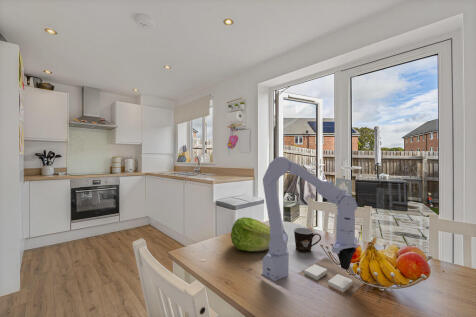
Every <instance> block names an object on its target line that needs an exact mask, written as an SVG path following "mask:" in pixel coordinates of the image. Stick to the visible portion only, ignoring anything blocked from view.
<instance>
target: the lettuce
mask: <svg viewBox="0 0 476 317" xmlns="http://www.w3.org/2000/svg"><path fill="white" fill-rule="evenodd" d="M230 238H231V242H232V244H233V245H234V247H235V248H236V249H238V250H240V251H241V250H242V251H247V252H250V253H251V252H253V253H254V252H262V251H266V250H269V242H270V225H268V224H266V223H264V222H262V221H260V220H258V219H254V218H253V217H247V216H244V217H243V216H242V217H239V218H237V219H236V220H235V221H234V223H233V225H232V228H231V232H230Z"/></svg>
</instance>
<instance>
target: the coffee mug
mask: <svg viewBox="0 0 476 317" xmlns="http://www.w3.org/2000/svg"><path fill="white" fill-rule="evenodd" d="M293 232H294V242H295V249H296V251H297V252H298V253H303V254H307V253H311V252H312V247H313V246H315V245H317V244H318V243H319V242H320V241H321V239H322V236H321V234H319V233H316V232H315V233H314V230H312V229H311V228H307V227H296V228H294V229H293ZM315 236H318V237H319V239H318V240H317V241H315V242H314V243H313V240H314V237H315Z"/></svg>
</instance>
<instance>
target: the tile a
mask: <svg viewBox="0 0 476 317" xmlns="http://www.w3.org/2000/svg"><path fill="white" fill-rule="evenodd" d="M313 264H314V265H313ZM313 264H312V266H311V265H310V266H311V267H310V266H308V267H309V268H308V267H307V269H306V268H305V270H304V269H303V270H304V274H305V275H307V276H309V277H311V278H313V279H315V280H318V279H320V278H321V277H323V276H324V275H326V274H327V269H325V268H323V267H320V266H318V265H316V264H315V263H313Z"/></svg>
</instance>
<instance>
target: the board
mask: <svg viewBox="0 0 476 317" xmlns="http://www.w3.org/2000/svg"><path fill="white" fill-rule="evenodd" d="M331 260H332V259H331V258H328V257H324V258H322V259H321V260H318V261H317V262H315V263H313V264H312V265H314V264H316V265H318V266H320V267H323V268H325V269H327V274H326V275H324V276H323V277H321V278H320V279H318V280H315V279H313V278H311V277H309V276H307V275H305V274H304V270H305V269H307V268H309V267H311V266H312V265H310V266H308V267H307V268H305V269H303V270H301V271H299V272H297V274H299V275H301V276H303V277H305V278H307V279H309V280H311V281H313V282H315V283H317V284H319V285H321V286H323V287H324V288H327V289H329V290H331V291H332V292H335V293H336V294H337V293H338V294H339V295H341V296H343V297H345V298H347V299H349V298H350V297H351V296H352V295H353V294H354V293H355V292H357V291H358V290H359V289H360V288H361V287H362V286H363V285H364V284H365V283H362V282H360V281H358V280H356V279H355V278H354V277H353V276H350V275H349V274H347V273H346V271H345V269H343V268H342V269H343V270H344V271H345V272H344V271H342V270H341V269H340V268H338V267H337V266H336V265H335V264H334V263H333V262H332V261H331ZM337 262H338V263H339V264H340V261H337ZM352 268H353V267H352V266H350V267H349V269H348V271H349V273H351V274H354V272H353V270H352ZM337 274H339V275H342V276H344V277H346V278H349V279H351V280H353V285H352V286H351V287H350V288H349V289H348V290H346V291H345V292H344V293H342V292H340V291H338V290H335V289H333V288H331V287H329V286H328V281H329V280H330V279H332V278H333V277H334V276H336V275H337Z"/></svg>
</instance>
